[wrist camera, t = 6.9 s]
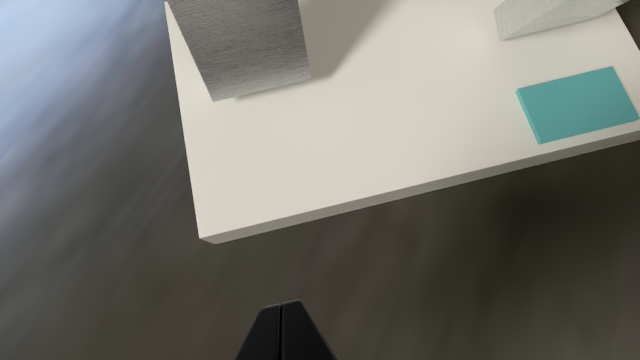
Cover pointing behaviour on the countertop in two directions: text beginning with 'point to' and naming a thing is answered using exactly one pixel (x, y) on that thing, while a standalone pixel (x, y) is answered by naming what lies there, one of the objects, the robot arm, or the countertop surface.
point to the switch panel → (401, 110)
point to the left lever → (243, 43)
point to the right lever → (546, 14)
